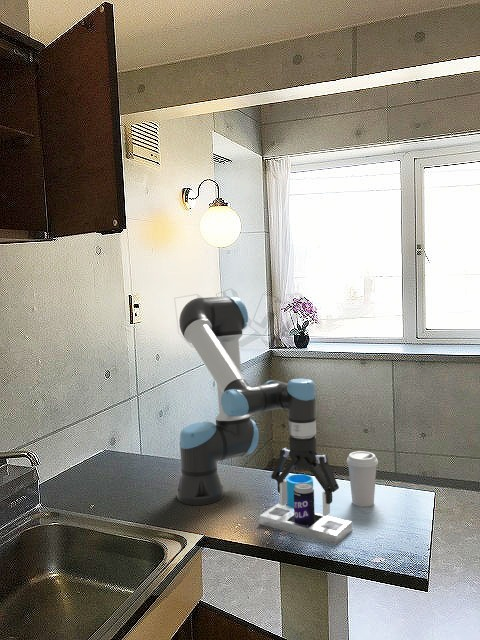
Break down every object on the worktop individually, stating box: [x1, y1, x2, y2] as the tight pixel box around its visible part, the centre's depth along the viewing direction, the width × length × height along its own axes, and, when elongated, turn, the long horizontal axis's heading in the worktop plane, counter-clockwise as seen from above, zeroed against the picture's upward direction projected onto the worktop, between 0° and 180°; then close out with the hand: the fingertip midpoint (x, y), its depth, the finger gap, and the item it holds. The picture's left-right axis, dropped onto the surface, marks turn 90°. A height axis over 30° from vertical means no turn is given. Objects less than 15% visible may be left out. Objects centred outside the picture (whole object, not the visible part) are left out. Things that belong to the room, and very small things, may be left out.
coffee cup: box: [345, 450, 379, 508], centre depth 173 cm, size 10×10×15 cm
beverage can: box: [294, 483, 316, 527], centre depth 157 cm, size 6×6×12 cm
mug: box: [285, 473, 314, 507], centre depth 175 cm, size 12×8×8 cm
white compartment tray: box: [259, 503, 353, 546], centre depth 158 cm, size 24×10×3 cm, turn 54°
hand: (304, 509), depth 157 cm, fingers open, 13 cm apart
